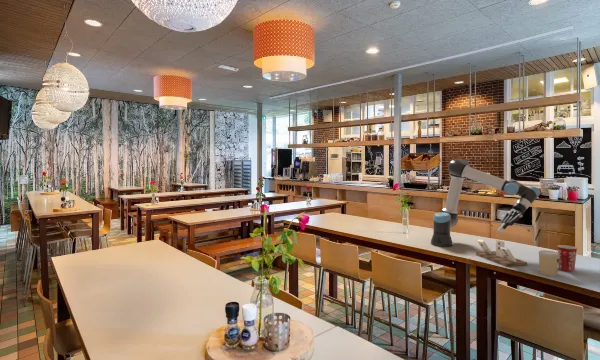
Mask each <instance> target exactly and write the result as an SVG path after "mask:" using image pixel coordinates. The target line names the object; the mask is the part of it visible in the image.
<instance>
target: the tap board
mask: <svg viewBox="0 0 600 360" xmlns="http://www.w3.org/2000/svg"><path fill="white" fill-rule="evenodd" d="M475 255H476V256H478V257H480V258H483V259H485V260H488V261H491V262H493V263H496V264H498V265H501V266H504V267H506V268H509V267H523V266H527V265H528V262H527V261H524V260H521V259H518V258H515V257H514V258H515V259H516V262H512V261H509V260H508V259H507V257H506V256H505V255H504V258H501V257H498V256H496V250H493V251H492V250H491V253H487V252H485V251H479V252H478V251H477V252H475Z"/></svg>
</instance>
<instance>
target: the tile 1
mask: <svg viewBox="0 0 600 360" xmlns="http://www.w3.org/2000/svg"><path fill="white" fill-rule="evenodd" d="M476 242H477V243H478V245H479V246H480V248H481V249H482V250H483V252H487V253H491V251H492V250H491V249H490V247H489V246H488V244H487V243H486V242H485V240H483V239H480V238H479V239H477V240H476Z"/></svg>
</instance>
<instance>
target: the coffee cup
mask: <svg viewBox="0 0 600 360" xmlns="http://www.w3.org/2000/svg"><path fill="white" fill-rule="evenodd" d="M558 261H559V253H558V251H553V250H546V249H545V250H544V249H543V250H539V251H538V263H539V264H538V265H539V273H540V274H541V275H544V276H551V277H555V276H557V274H558V270H559V268H558Z"/></svg>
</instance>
